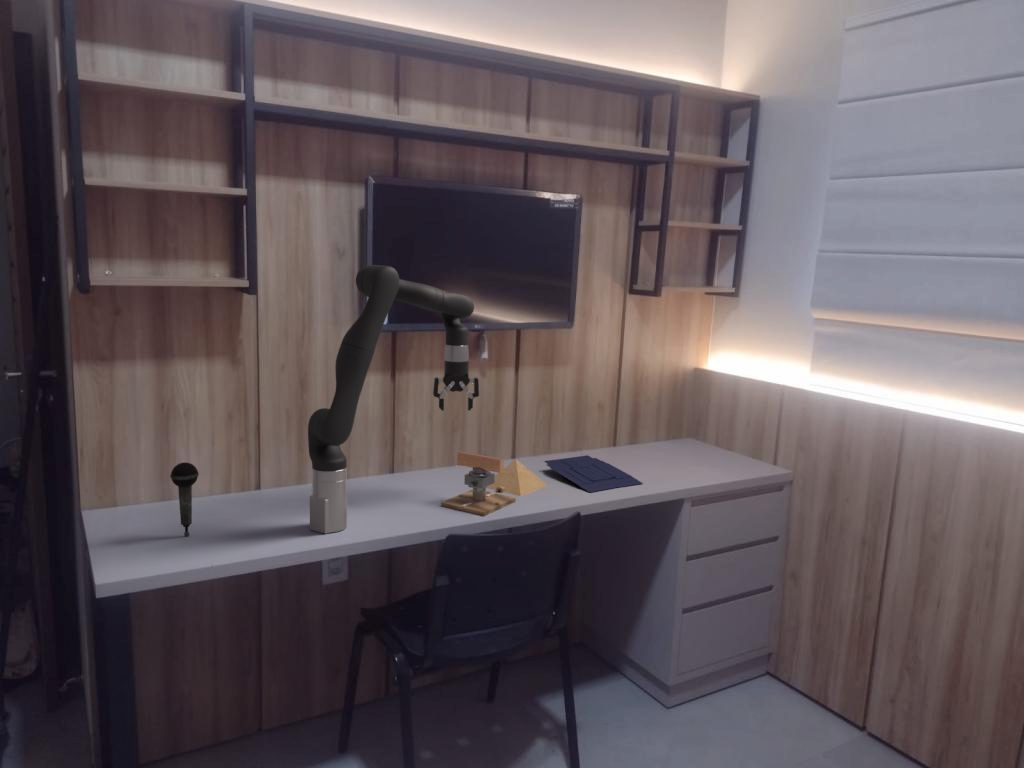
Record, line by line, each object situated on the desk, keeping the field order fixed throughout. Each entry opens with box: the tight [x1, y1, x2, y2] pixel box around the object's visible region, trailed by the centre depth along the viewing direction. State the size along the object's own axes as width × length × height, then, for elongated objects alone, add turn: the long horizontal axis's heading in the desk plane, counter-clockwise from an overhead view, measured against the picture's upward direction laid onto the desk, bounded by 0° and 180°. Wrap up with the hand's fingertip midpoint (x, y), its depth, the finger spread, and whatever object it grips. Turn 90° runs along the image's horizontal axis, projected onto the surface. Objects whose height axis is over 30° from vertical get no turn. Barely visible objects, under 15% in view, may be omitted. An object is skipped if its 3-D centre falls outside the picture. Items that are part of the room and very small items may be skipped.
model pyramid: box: [486, 458, 548, 497], centre depth 252 cm, size 17×17×10 cm
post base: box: [440, 487, 517, 517], centre depth 232 cm, size 18×16×9 cm
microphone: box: [169, 462, 200, 537], centre depth 195 cm, size 7×7×20 cm
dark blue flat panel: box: [543, 455, 644, 493], centre depth 266 cm, size 24×30×4 cm
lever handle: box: [456, 450, 505, 489], centre depth 231 cm, size 10×16×9 cm, turn 58°
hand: (455, 410), depth 235 cm, fingers open, 8 cm apart
